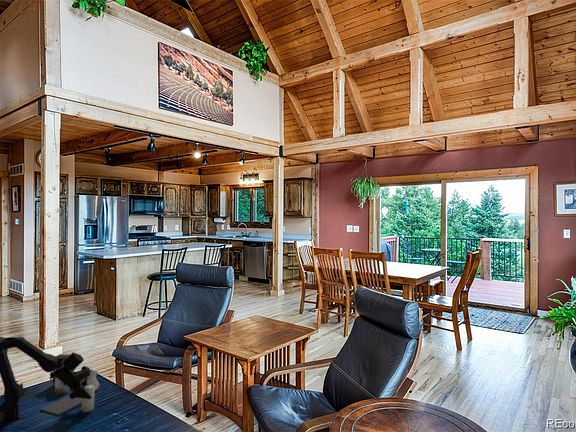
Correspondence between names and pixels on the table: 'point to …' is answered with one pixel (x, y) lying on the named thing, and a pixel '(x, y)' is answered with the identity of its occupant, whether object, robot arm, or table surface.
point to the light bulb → (88, 403)
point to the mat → (62, 406)
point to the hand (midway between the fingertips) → (91, 395)
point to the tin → (61, 388)
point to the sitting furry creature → (93, 379)
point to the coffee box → (62, 365)
